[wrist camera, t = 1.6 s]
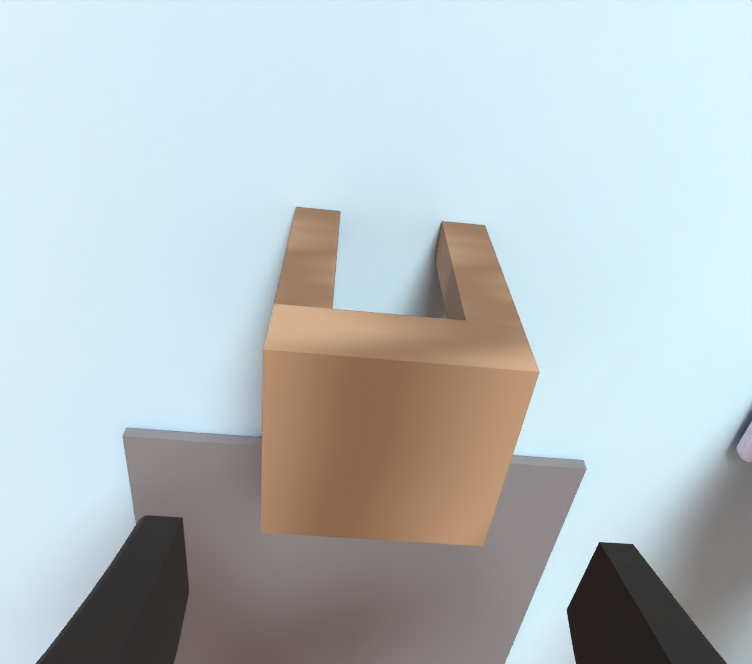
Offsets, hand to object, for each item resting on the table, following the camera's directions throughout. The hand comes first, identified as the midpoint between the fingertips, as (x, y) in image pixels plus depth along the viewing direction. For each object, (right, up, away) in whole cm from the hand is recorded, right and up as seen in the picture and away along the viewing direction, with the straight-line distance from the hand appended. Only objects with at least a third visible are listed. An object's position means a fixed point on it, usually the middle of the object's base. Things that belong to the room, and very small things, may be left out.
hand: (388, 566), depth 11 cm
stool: (0, +5, +8) cm, 9 cm away
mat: (-2, -6, +15) cm, 17 cm away
